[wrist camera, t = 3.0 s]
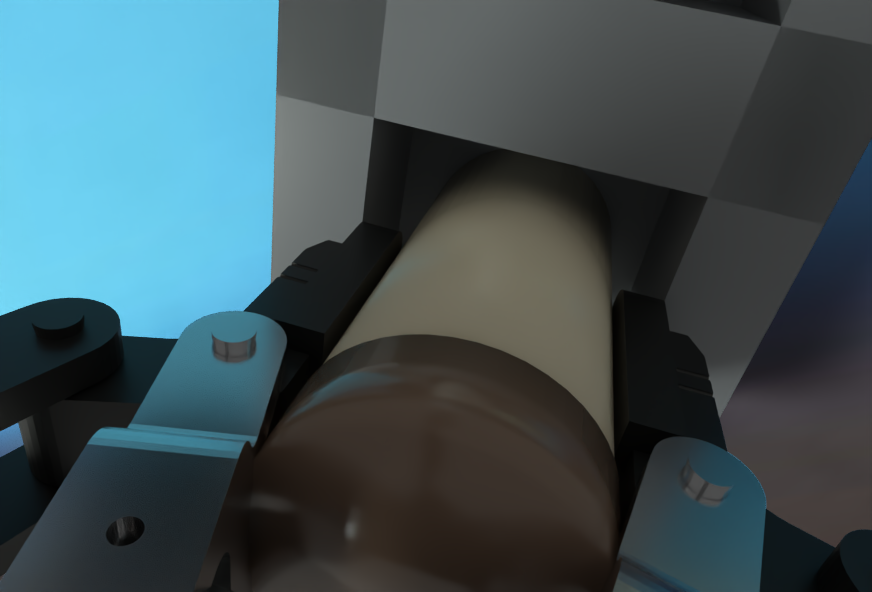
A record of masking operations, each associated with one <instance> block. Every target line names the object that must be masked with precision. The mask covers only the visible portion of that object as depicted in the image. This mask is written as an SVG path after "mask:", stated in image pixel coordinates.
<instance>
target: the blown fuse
mask: <svg viewBox="0 0 872 592" xmlns="http://www.w3.org/2000/svg"><path fill="white" fill-rule="evenodd" d="M619 537H620V499H619V476H618V471H617V466H616V462H615V458H614V396H613V322H612V248H611V222H610V216H609V212H608V209H607V206H606V203H605V201H604V199H603V197H602V195H601V193H600V191H599V190H598V188H597V187H596V185H595V184H594V182H593V181H592V180H591V179H590V178H589V177H588V176H587V175H586V173H584V172H583V171H582V170H581V169H580V168H578V167H577V166H575V165H570V164H566V163H562V162H558V161H554V160H549V159H545V158H541V157H537V156H533V155H528V154H524V153H520V152H516V151H512V150H507V149H498V150H494V151H490V152H488V153H485V154H482V155H480V156H478V157H476V158H474V159H472V160H471V161H469V162H468V163H466V164H465V165H464V166H462V167H461V168H460V169H459V170H458V171H457V172H456V173H455V174H454V175H453V176H452V177H451V178H450V179H449V181H448V182H447V183H446V185H445V186H444V188H443V189H442V191H441V192H440V193H439V195H438V196H437V198H436V199H435V201H434V202H433V204H432V205H431V207H430V208H429V210H428V211H427V213H426V214H425V215H424V217H423V218H422V220H421V221H420V223H419V224H418V226H417V227H416V229H415V230H414V232H413V233H412V234H411V236H410V237H409V239H408V240H407V242H406V243H405V245H404V246H403V248H402V249H401V251H400V252H399V254H398V255H397V256H396V258H395V259H394V261H393V262H392V264H391V265H390V267H389V268H388V270H387V271H386V273H385V274H384V275H383V277H382V278H381V280H380V281H379V283H378V284H377V286H376V287H375V289H374V290H373V292H372V293H371V295H370V296H369V297H368V299H367V300H366V302H365V303H364V305H363V306H362V308H361V309H360V311H359V312H358V314H357V315H356V316H355V318H354V319H353V321H352V322H351V324H350V325H349V327H348V328H347V330H346V331H345V333H344V334H343V336H342V337H341V338H340V340H339V341H338V343H337V344H336V346H335V347H334V349H333V350H332V352H331V353H330V355H329V356H328V358H327V359H326V360H325V362H324V363H323V365H322V366H320V367H319V368H318V369H317V370H316V371H315V372H314V373H313V374H312V375H311V377H310V378H309V379H308V380H307V381H306V383H305V384H304V385H303V387H302V388H301V390H300V391H299V392H298V394H297V395H296V397H295V398H294V400H293V401H292V402H291V404H290V405H289V407H288V408H287V410H286V411H285V413H284V414H283V415H282V417H281V418H280V420H279V421H278V423H277V424H276V426H275V427H274V428H273V430H272V431H271V433H270V434H269V436H268V437H267V438H266V440H265V441H264V443H263V445H262V447H261V448H260V450H259V452H258V453H257V455H256V457H255V459H254V469H253V490H252V496H251V503H250V525H249V571H252V591H253V592H600V591H601V590H602V588H603V586H604V584H605V582H606V580H607V578H608V576H609V574H610V572H611V570H612V568H613V564H614V560H615V556H616V552H617V547H618V542H619Z"/></svg>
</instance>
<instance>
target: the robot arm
mask: <svg viewBox="0 0 872 592" xmlns="http://www.w3.org/2000/svg"><path fill="white" fill-rule="evenodd" d="M402 240H403V236H402V232H401V231H397V230H393V229H389V228H386V227H382V226H378V225H374V224H370V223H366V222H361V223H360V224H359V225H358V226H357V227H356V228H355V230H354V231H353V232H352V233H351V234H350V235H349V236H348V237H347V239H346V240H345V241H344V242H343V243H339V242H335V241H331V240H326V241H324V242H321V243H319V244H316V245H314V246H311V247H309V248H306V249H305V250H304V251H303V252H302V253H301V254H300V255H299V256H298V257H297V258H296V259H295V260H294V261H293V262H292V265H289V266H288V267H287V268H286V269H285V270H284V271H283V272H282V273H281V275H280V277H277V278H276V279H275V280H274V281H273V282H272V283H271V284H270V285H269V286H268V287H267V288H266V289H265V290H264V291H263V292H262V293H261V294H260V295H259V296H258V297H257V298H256V299H255V300H254V301H253V302H252V303H251V304H250V305H249V306H248V307H247V308H246V309H245V310H244V311H226V312H219V313H214V314H210V315H207V316H204V317H202V318H200V319H198V320H196V321H194V322H193V323H191V324H190V325H189V326H188V327H186V328H185V330H184V331H183V332H182V334H181V335H180V337H179V339H164V338H149V337H133V336H122V334H121V326H120V319H119V316H118V314H117V313H116V311H115V310H114V309H112V308H111V307H110V306H108V305H106V304H104V303H101V302H98V301H95V300H90V299H83V298H59V299H52V300H47V301H42V302H38V303H35V304H32V305H29V306H26V307H23V308H20V309H18V310H15V311H12V312H9V313H7V314H4V315H1V316H0V431H2V430H4V429H6V428H8V427H10V426H12V425H14V424H16V423H18V424H19V428H20V432H21V435H22V439H23V443H24V445H23V446H21V447H19V448H17V449H15V450H13V451H12V452H10V453H8V454H6V455H4V456H2V457H0V576H2V575H3V574H5V573H6V574H5V575H4V577H3V578H2V580H1V581H0V592H253V591H252V571H249V525H250V503H251V496H252V490H253V469H254V459H255V457H256V455H257V453H258V452H259V450H260V448H261V447H262V445H263V443H264V441H265V440H266V438H267V437H268V436H269V434H270V433H271V431H272V430H273V428H274V427H275V426H276V424H277V423H278V421H279V420H280V418H281V417H282V415H283V414H284V413H285V411H286V410H287V408H288V407H289V405H290V404H291V402H292V401H293V400H294V398H295V397H296V395H297V394H298V392H299V391H300V390H301V388H302V387H303V385H304V384H305V383H306V381H307V380H308V379H309V378H310V377H311V375H312V374H313V373H314V372H315V371H316V370H317V369H318V368H319V367H320V366H322V365H323V363H324V362H325V360H326V359H327V358H328V356H329V355H330V353H331V352H332V350H333V349H334V347H335V346H336V344H337V343H338V341H339V340H340V338H341V337H342V336H343V334H344V333H345V331H346V330H347V328H348V327H349V325H350V324H351V322H352V321H353V319H354V318H355V316H356V315H357V314H358V312H359V311H360V309H361V308H362V306H363V305H364V303H365V302H366V300H367V299H368V297H369V296H370V295H371V293H372V292H373V290H374V289H375V287H376V286H377V284H378V283H379V281H380V280H381V278H382V277H383V275H384V274H385V273H386V271H387V270H388V268H389V267H390V265H391V264H392V262H393V261H394V259H395V258H396V256H397V255H398V254H399V252H400V251H401V249H402ZM612 322H613V396H614V458H615V462H616V466H617V471H618V476H619V499H620V537H619V542H618V547H617V552H616V556H615V560H614V564H613V568H612V570H611V572H610V574H609V576H608V578H607V580H606V582H605V584H604V586H603V588H602V590H601V591H600V592H872V530H856V531H852V532H850V533H848V534H847V535H845V536H844V538H843V539H842V540H841V542H840V543H839V544H838V545H837V547H836V548H835V547H833V546H831V545H829V544H827V543H825V542H823V541H821V540H820V539H818V538H816V537H814V536H812V535H810V534H808V533H806V532H804V531H803V530H801V529H799V528H797V527H795V526H793V525H791V524H789V523H788V522H786V521H784V520H782V519H781V518H779V517H777V516H776V515H774V514H773V513H771V512H770V511H769V510H767V509H766V497H765V494H764V490H763V488H762V486H761V484H760V483H759V481H758V480H757V478H756V477H755V475H754V474H753V473H752V472H751V471H750V470H749V469H748V468H747V467H746V466H745V465H744V464H743V463H742V462H741V461H740V460H738V459H737V458H736V457H734V456H733V455H732V454H730V453H728V452H727V448H726V444H725V440H724V436H723V431H722V427H721V423H720V419H719V415H718V410H717V406H716V402H715V398H714V397H713V389H712V385H711V381H710V380H709V372H708V368H707V364H706V360H705V356H704V355H703V354H702V352H701V351H700V350H699V349H698V347H697V346H696V345H695V344H694V342H693V341H692V340H691V339H690V337H689V336H688V335H684V334H680V333H676V332H673V331H670V329H669V323H668V317H667V311H666V305H665V301H664V300H661V299H657V298H654V297H650V296H646V295H642V294H638V293H634V292H630V291H627V290H623V289H621V290H620V291H619V293H618V294H617V296H616V299H615V301H614V303H613V306H612Z"/></svg>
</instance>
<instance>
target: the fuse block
mask: <svg viewBox="0 0 872 592" xmlns="http://www.w3.org/2000/svg"><path fill="white" fill-rule="evenodd" d="M871 138H872V0H279V17H278V52H277V87H276V122H275V157H274V192H273V228H272V263H271V283H272V282H273V281H274V280H275V279H276V278H277V277H280V275H281V273H282V272H283V271H284V270H285V269H286V268H287V267H288V266H289V265H292V262H293V261H294V260H295V259H296V258H297V257H298V256H299V255H300V254H301V253H302V252H303V251H304V250H305V249H306V248H309V247H311V246H314V245H316V244H319V243H321V242H324V241H326V240H331V241H335V242H339V243H343V242H344V241H345V240H346V239H347V237H348V236H349V235H350V234H351V233H352V232H353V231H354V230H355V228H356V227H357V226H358V225H359V224H360V223H361V222H366V223H370V224H374V225H378V226H382V227H386V228H389V229H393V230H397V231H401V232H402V236H403V240H402V248H403V246H404V245H405V243H406V242H407V240H408V239H409V237H410V236H411V234H412V233H413V232H414V230H415V229H416V227H417V226H418V224H419V223H420V221H421V220H422V218H423V217H424V215H425V214H426V213H427V211H428V210H429V208H430V207H431V205H432V204H433V202H434V201H435V199H436V198H437V196H438V195H439V193H440V192H441V191H442V189H443V188H444V186H445V185H446V183H447V182H448V181H449V179H450V178H451V177H452V176H453V175H454V174H455V173H456V172H457V171H458V170H459V169H460V168H461V167H462V166H464V165H465V164H466V163H468V162H469V161H471V160H472V159H474V158H476V157H478V156H480V155H482V154H485V153H488V152H490V151H494V150H498V149H507V150H512V151H516V152H520V153H524V154H528V155H533V156H537V157H541V158H545V159H549V160H554V161H558V162H562V163H566V164H570V165H575V166H577V167H578V168H580V169H581V170H582V171H583V172H584V173H586V175H587V176H588V177H589V178H590V179H591V180H592V181H593V182H594V184H595V185H596V187H597V188H598V190H599V191H600V193H601V195H602V197H603V199H604V201H605V203H606V206H607V209H608V212H609V216H610V222H611V248H612V306H613V303H614V301H615V299H616V296H617V294H618V293H619V291H620V290H621V289H623V290H627V291H630V292H634V293H638V294H642V295H646V296H650V297H654V298H657V299H661V300H664V301H665V305H666V311H667V317H668V323H669V329H670V331H673V332H676V333H680V334H684V335H688V336H689V337H690V339H691V340H692V341H693V342H694V344H695V345H696V346H697V347H698V349H699V350H700V351H701V352H702V354H703V355H704V356H705V360H706V364H707V368H708V372H709V380H710V381H711V385H712V389H713V397H714V398H715V402H716V406H717V410H718V415H719V418H720V416H721V414H722V412H723V410H724V409H725V407H726V405H727V403H728V401H729V399H730V398H731V396H732V394H733V392H734V390H735V388H736V387H737V385H738V383H739V381H740V379H741V377H742V376H743V374H744V372H745V370H746V368H747V366H748V365H749V363H750V361H751V359H752V357H753V355H754V354H755V352H756V350H757V348H758V346H759V344H760V342H761V341H762V339H763V337H764V335H765V333H766V331H767V330H768V328H769V326H770V324H771V322H772V320H773V319H774V317H775V315H776V313H777V311H778V309H779V308H780V306H781V304H782V302H783V300H784V298H785V297H786V295H787V293H788V291H789V289H790V287H791V285H792V284H793V282H794V280H795V278H796V276H797V274H798V273H799V271H800V269H801V267H802V265H803V263H804V262H805V260H806V258H807V256H808V254H809V252H810V251H811V249H812V247H813V245H814V243H815V241H816V240H817V238H818V236H819V234H820V232H821V230H822V229H823V227H824V225H825V223H826V221H827V219H828V217H829V216H830V214H831V212H832V210H833V208H834V206H835V205H836V203H837V201H838V199H839V197H840V195H841V194H842V192H843V190H844V188H845V186H846V184H847V183H848V181H849V179H850V177H851V175H852V173H853V172H854V170H855V168H856V166H857V164H858V162H859V161H860V159H861V157H862V155H863V153H864V151H865V149H866V148H867V146H868V144H869V142H870V140H871Z"/></svg>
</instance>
